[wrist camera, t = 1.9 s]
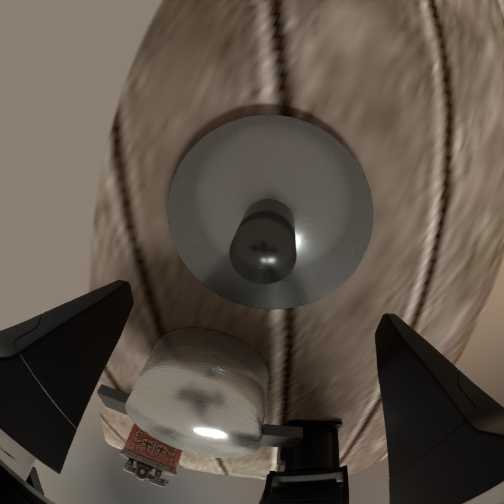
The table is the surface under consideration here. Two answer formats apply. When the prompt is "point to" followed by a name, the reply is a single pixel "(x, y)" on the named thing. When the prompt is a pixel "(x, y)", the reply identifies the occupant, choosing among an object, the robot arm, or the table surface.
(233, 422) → the pot
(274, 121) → the lid
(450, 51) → the table surface
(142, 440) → the lighter
